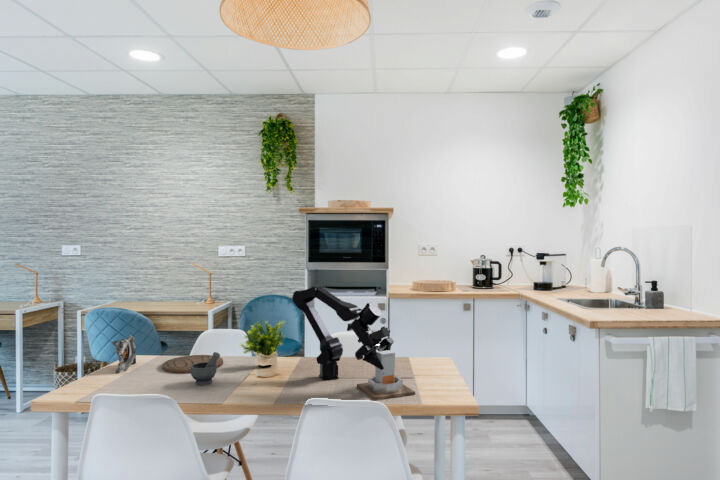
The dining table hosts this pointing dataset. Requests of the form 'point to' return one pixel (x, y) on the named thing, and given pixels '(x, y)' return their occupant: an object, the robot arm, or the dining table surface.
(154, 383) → the dining table surface
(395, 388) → the steel ring
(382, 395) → the walnut board
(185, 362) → the trivet
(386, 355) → the skincare box
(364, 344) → the robot arm
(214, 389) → the dining table surface
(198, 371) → the mortar and pestle
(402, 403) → the dining table surface
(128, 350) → the grey piece
